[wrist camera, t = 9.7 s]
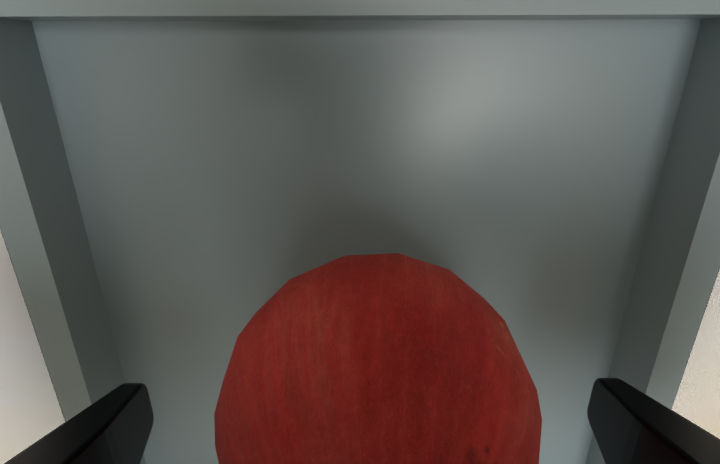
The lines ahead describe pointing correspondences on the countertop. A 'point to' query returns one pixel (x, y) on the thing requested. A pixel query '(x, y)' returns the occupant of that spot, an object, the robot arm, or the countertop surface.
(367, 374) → the onion
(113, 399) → the robot arm
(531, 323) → the tray
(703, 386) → the countertop surface
